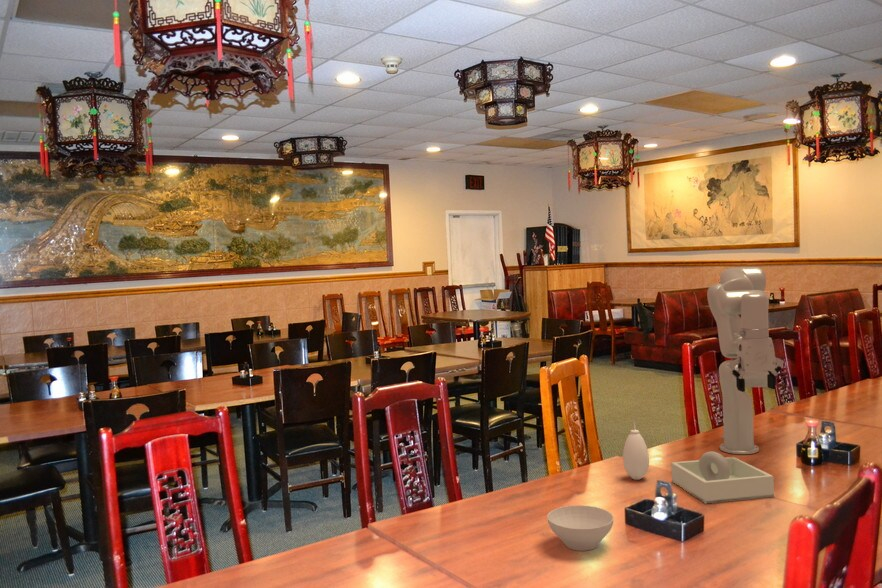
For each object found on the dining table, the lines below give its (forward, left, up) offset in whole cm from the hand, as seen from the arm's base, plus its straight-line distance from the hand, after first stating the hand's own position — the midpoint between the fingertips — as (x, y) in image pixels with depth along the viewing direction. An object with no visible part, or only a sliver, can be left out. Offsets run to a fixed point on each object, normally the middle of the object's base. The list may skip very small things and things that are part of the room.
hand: (756, 389), depth 213 cm
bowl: (+35, -68, -27) cm, 81 cm away
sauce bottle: (-9, -35, -27) cm, 46 cm away
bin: (+7, -16, -27) cm, 32 cm away
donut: (+5, -17, -27) cm, 32 cm away
